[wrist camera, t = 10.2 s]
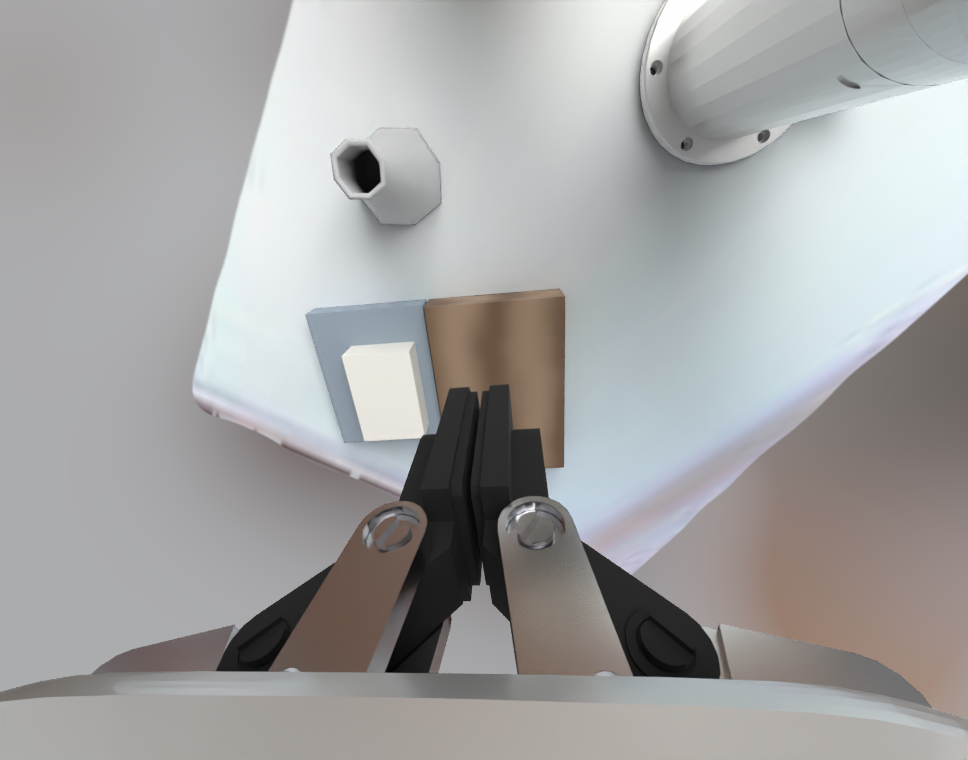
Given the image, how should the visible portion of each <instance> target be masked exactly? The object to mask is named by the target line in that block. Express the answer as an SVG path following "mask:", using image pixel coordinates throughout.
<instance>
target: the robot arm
mask: <svg viewBox="0 0 968 760" xmlns="http://www.w3.org/2000/svg"><path fill="white" fill-rule="evenodd" d="M650 68H654V70H655V74H654V75H652V74H651V73H650ZM964 78H968V0H665V2H664V3H663V5H662V7H661V8H660V10H659V12H658V13H657V16H656V18H655V20H654V23H653V25H652V27H651V30H650V32H649V35H648V38H647V42H646V45H645V49H644V53H643V57H642V64H641V73H640V93H641V102H642V107H643V111H644V116H645V118H646V121H647V123H648V125H649V128H650V130H651V132H652V134H653V135H654V136H655V138H656V139H657V141H658V142H659V143H660V145H661V146H662V147H663V148H665V149H666V150H667V151H668V152H669V153H670V154H671V155H673V156H675V157H677V158H679V159H681V160H683V161H685V162H689V163H693V164H697V165H718V164H725V163H730V162H733V161H737V160H740V159H743V158H746V157H748V156H750V155H752V154H754V153H756V152H758V151H760V150H762V149H764V148H765V147H766V146H768V145H769V144H770V143H772V142H773V141H775V140H776V139H777V138H779V137H780V136H781V135H782V134H783V133H784V132H785V131H786V130H787V129H788V128H789V127H790V126H791V125H792V124H793V123H795V122H799V121H802V120H806V119H810V118H814V117H818V116H822V115H826V114H829V113H833V112H837V111H841V110H845V109H849V108H853V107H857V106H860V105H864V104H868V103H872V102H876V101H880V100H884V99H887V98H891V97H895V96H899V95H903V94H907V93H911V92H914V91H918V90H922V89H926V88H930V87H934V86H938V85H942V84H945V83H949V82H953V81H957V80H961V79H964ZM758 135H759V139H758ZM682 142H684V145H685V146H684V148H683V149H681V143H682ZM482 562H483V568H484V574H485V580H486V584H487V585H489V586H490V593H491V598H492V604H493V605H494V606H495V607H496V608H497V609H498V610H499V611H500V612H501V613H502V614H503V615H504V616H505V617H506V618H507V619H508V620H509V621H510V626H511V633H512V640H513V646H514V653H515V660H516V667H517V674H518V675H516V674H514V675H512V674H442V673H441V674H440V673H438V671H439V668H440V664H441V661H442V657H443V653H444V650H445V646H446V642H447V639H448V635H449V631H450V627H451V614H452V613H453V612H454V611H455V610H457V609H458V608H459V607H460V606H461V605H462V604H463V601H471V593H472V585H480V581H481V568H482ZM0 760H968V720H967V719H964V718H961V717H958V716H955V715H952V714H949V713H946V712H942V711H939V710H936V709H933V708H932V707H931V705H930V704H929V703H928V702H927V700H926V699H925V698H924V696H923V695H922V694H921V693H920V692H919V691H917V689H915V688H914V687H913V686H912V685H911V684H910V683H908V682H907V681H906V680H905V679H904V678H903V677H902V676H901V675H899V674H897V673H896V672H894V671H893V670H891V669H889V668H887V667H886V666H884V665H883V664H881V663H879V662H878V661H876V660H873V659H870V658H867V657H864V656H862V655H859V654H856V653H852V652H847V651H843V650H838V649H833V648H829V647H824V646H820V645H815V644H811V643H806V642H801V641H796V640H792V639H788V638H783V637H778V636H774V635H769V634H765V633H760V632H755V631H751V630H746V629H742V628H736V627H732V626H728V625H723V624H719V626H718V629H712V628H708V627H703V626H700V625H699V624H698V623H697V622H696V621H695V620H694V619H693V618H691V617H690V616H689V615H688V614H687V613H685V612H684V611H683V610H681V609H679V608H678V607H677V606H675V605H674V604H672V603H671V602H670V601H668V600H666V599H665V598H664V597H662V596H661V595H659V594H658V593H656V592H655V591H654V590H652V589H651V588H649V587H648V586H646V585H644V584H643V583H642V582H640V581H639V580H637V579H636V578H635V577H633V576H632V575H630V574H629V573H627V572H626V571H624V570H623V569H622V568H620V567H619V566H617V565H616V564H614V563H613V562H611V561H610V560H609V559H607V558H606V557H604V556H603V555H601V554H600V553H598V552H597V551H595V550H594V549H593V548H591V547H590V546H588V545H587V544H585V543H584V542H582V541H581V540H580V537H579V535H578V532H577V529H576V527H575V524H574V522H573V519H572V517H571V515H570V514H569V512H568V510H567V509H566V508H565V507H563V506H562V505H561V504H560V503H559V502H556V501H554V500H552V499H550V498H549V497H548V489H547V481H546V473H545V465H544V457H543V450H542V442H541V434H540V428H532V429H515V430H513V420H512V409H511V398H510V388H509V384H503V385H490V387H489V391H482V398H481V406H480V407H479V399H478V393H477V391H475V392H471V391H470V388H469V387H460V388H450V389H449V392H448V395H447V398H446V402H445V405H444V409H443V412H442V415H441V419H440V422H439V425H438V429H437V432H436V434H426V435H423V436H422V437H421V440H420V442H419V445H418V448H417V451H416V454H415V457H414V460H413V462H412V465H411V468H410V471H409V474H408V477H407V480H406V482H405V485H404V488H403V491H402V494H401V497H400V500H399V501H395V502H391V503H388V504H384V505H382V506H380V507H378V508H376V509H375V510H373V511H372V512H370V513H369V514H368V515H367V516H366V517H365V518H364V519H363V520H362V521H361V523H360V524H359V525H358V527H357V529H356V530H355V532H354V533H353V535H352V537H351V538H350V540H349V541H348V543H347V545H346V546H345V548H344V549H343V551H342V553H341V554H340V556H339V558H338V559H337V561H336V562H335V563H334V564H332V565H331V566H329V567H328V568H326V569H325V570H323V571H322V572H320V573H319V574H317V575H316V576H314V577H313V578H311V579H310V580H308V581H307V582H305V583H304V584H302V585H301V586H299V587H298V588H296V589H295V590H293V591H292V592H290V593H289V594H287V595H286V596H284V597H283V598H281V599H280V600H279V601H277V602H275V603H274V604H273V605H271V606H270V607H268V608H267V609H265V610H264V611H262V612H261V613H259V614H258V615H256V616H255V617H254V618H253V619H251V620H250V621H249V622H248V623H246V624H245V625H244V626H243V627H242V628H241V629H240V630H238V629H237V627H236V626H235V625H231V626H227V627H223V628H219V629H214V630H210V631H206V632H202V633H198V634H194V635H190V636H185V637H182V638H177V639H173V640H169V641H165V642H160V643H156V644H152V645H148V646H144V647H140V648H136V649H132V650H130V651H127V652H125V653H122V654H119V655H117V656H115V657H114V658H112V659H111V660H109V661H108V662H106V663H104V664H103V665H101V666H100V667H99V668H98V669H96V670H95V671H94V672H93V673H92V674H91V675H77V676H69V677H63V678H57V679H51V680H45V681H40V682H36V683H32V684H28V685H24V686H20V687H16V688H12V689H9V690H5V691H1V692H0Z"/></svg>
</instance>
